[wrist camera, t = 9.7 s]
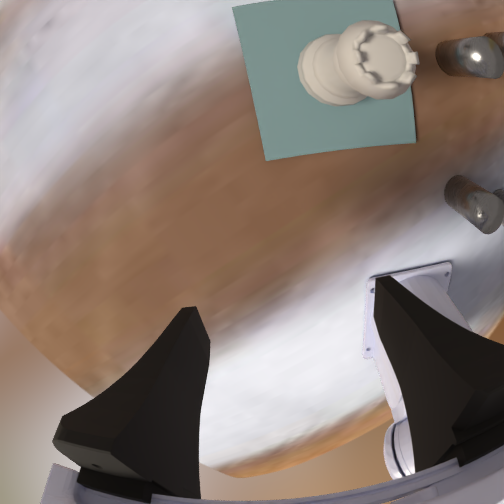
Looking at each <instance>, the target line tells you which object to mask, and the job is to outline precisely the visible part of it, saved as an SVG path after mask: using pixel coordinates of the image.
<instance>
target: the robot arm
mask: <svg viewBox="0 0 504 504" xmlns="http://www.w3.org/2000/svg"><path fill="white" fill-rule="evenodd" d="M446 272H447V273H446ZM451 272H452V265H451V264H450V263H449V262H445V263H441V264H436V265H432V266H427V267H422V268H418V269H413V270H408V271H403V272H399V273H394V274H389V275H384V276H379V277H373V278H370V279H369V280H368V281H367V283H366V304H365V324H364V339H363V352H362V355H363V358H364V359H370V358H374V361H375V364H376V367H377V370H378V373H379V376H380V379H381V383H382V386H383V389H384V392H385V395H386V399H387V402H388V404H389V406H390V408H391V409H392V410H391V411H392V415H393V418H394V423H393V424H391V425H390V426H389V428H388V429H387V432H386V434H385V440H384V459H385V463H386V466H387V469H388V471H389V473H390V475H391V477H392V479H393V480H391V481H388V482H384V483H380V484H376V485H372V486H368V487H363V488H359V489H355V490H349V491H344V492H339V493H333V494H327V495H320V496H312V497H305V498H296V499H282V500H266V501H219V500H202V499H201V494H200V481H199V426H200V413H201V406H202V400H203V395H204V389H205V384H206V379H207V373H208V368H209V360H210V339H209V337H208V334H207V332H206V330H205V327H204V325H203V322H202V320H201V317H200V315H199V312H198V310H197V307H196V306H194V307H185V308H182V309H181V310H180V311H179V312H178V314H177V315H176V316H175V317H174V319H173V320H172V321H171V322H170V324H169V325H168V326H167V328H166V329H165V330H164V331H163V333H162V334H161V335H160V336H159V338H158V339H157V340H156V341H155V343H154V344H153V345H152V346H151V347H150V348H149V349H148V351H147V352H146V353H145V354H144V355H143V356H142V357H141V359H140V360H139V361H138V362H137V363H136V364H135V365H134V366H133V367H132V368H131V369H130V370H129V371H128V372H127V373H125V374H124V375H123V376H122V377H121V378H120V379H119V380H117V381H116V382H115V383H114V384H112V385H111V386H110V387H109V388H108V389H106V390H105V391H104V392H102V393H101V394H99V395H98V396H97V397H95V398H94V399H92V400H90V401H89V402H87V403H86V404H84V405H82V406H81V407H79V408H77V409H75V410H74V411H71V412H70V413H68V414H66V415H64V416H62V418H61V421H60V423H59V426H58V428H57V430H56V433H55V435H54V438H53V441H52V442H53V444H54V446H55V447H56V449H57V450H58V451H60V452H61V453H62V454H63V455H65V456H67V457H68V458H69V459H70V460H72V461H73V462H75V463H76V464H77V465H79V466H81V469H80V472H77V471H75V470H73V469H70V468H67V467H64V466H61V465H59V464H55V463H54V464H53V465H52V468H51V471H50V474H49V477H48V480H47V483H46V486H45V490H44V493H43V496H42V499H41V503H40V504H381V503H385V502H389V501H392V500H396V499H399V498H401V499H399V500H396V501H394V502H391V504H504V345H503V344H500V343H497V342H494V341H492V340H489V339H487V338H484V337H482V336H480V335H478V334H476V333H474V332H473V331H472V329H471V328H470V326H469V325H468V323H467V322H466V320H465V319H464V317H463V316H462V314H461V313H460V311H459V310H458V309H457V307H456V306H455V304H454V303H453V301H452V300H451V299H450V297H449V296H448V294H447V292H448V287H449V282H450V277H451ZM445 273H446V274H445ZM372 288H374V289H373V290H371V289H372ZM402 497H404V498H402Z"/></svg>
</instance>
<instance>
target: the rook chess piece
mask: <svg viewBox="0 0 504 504" xmlns="http://www.w3.org/2000/svg"><path fill="white" fill-rule="evenodd" d="M410 40H411V39H410V38H408V37H407V36H406V35H405V34H404V33H403V32H402V31H401V30H400V31H397V30H396V29H394V28H393V27H391V26H389V25H387V24H384V23H382V22H380V21H372V20H362V21H359V22H357V23H354V24H352V25H350V26H348V27H347V28H346V30H345V31H344V32H343V33H342V34H327V35H323V36H321V37H319V38H317V39H315V40H313V41H311V42H309V43H308V44H307V45H306V47H305V48H304V49H303V50H302V52H301V53H300V57H299V61H298V66H297V68H298V73H299V78H300V82H301V83H302V85H303V86H304V88H305V89H306V91H307V92H308V94H310V95H311V96H313V97H314V98H315V99H317V100H318V101H319V102H321V103H324V104H328V105H331V106H335V107H336V106H347V105H354V104H356V103H358V102H359V101H361V100H363V99H365V98H366V97H367V96H369V97H372V98H374V99H377V100H380V99H393V98H395V97H397V96H399V95H401V94H403V93H405V92H406V91H407V89H408V88H409V87H410V85H411V84H412V83H413V81H414V80H415V78H416V77H417V75H415V71H416V65H418V64H420V63H419V57H418V52H413V51H412V49H411V47H410V45H409V44H408V41H410Z"/></svg>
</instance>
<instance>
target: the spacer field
mask: <svg viewBox="0 0 504 504" xmlns="http://www.w3.org/2000/svg"><path fill="white" fill-rule="evenodd" d="M436 60H437V62H438V65H439V66H440V68H441V69H442V70H443V71H444V72H445V73H446V74H448V75H450V76H466V77H482V78H494V79H496V78H499V77H500V76H501V75H502V74H503V72H504V32H494V33H486V34H485V35H484V36H482V37H472V38H464V39H456V40H450V41H443V42H441V43H439V44H438V46H437V48H436ZM444 196H445V200H446V203H447V204H448V205H449V206H450V207H451V208H453V209H454V210H455V211H457V212H458V213H459V214H461V215H462V216H463V217H464V218H466V219H467V220H468V221H469V222H471V223H472V224H473V225H474V226H475V227H477V228H478V229H479V230H480V231H481V232H483V233H484V234H491V233H493V232H495V231H496V230H497V229H498V228H499V226H500V225H501V224H502V225H503V226H504V190H501V189H498V190H496V191H495V192H494V193H493V194H492V193H491V192H489V191H487V190H486V189H484V188H482V187H481V186H479V185H477V184H476V183H474V182H472V181H470V180H469V179H467V178H465V177H463V176H460V175H457V176H454V177H453V178H451V179H450V180H449V182H448V183H447V185H446V187H445V192H444Z"/></svg>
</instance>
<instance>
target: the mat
mask: <svg viewBox="0 0 504 504" xmlns="http://www.w3.org/2000/svg"><path fill="white" fill-rule="evenodd" d="M232 9H233V13H234V18H235V22H236V26H237V30H238V34H239V38H240V43H241V47H242V51H243V56H244V60H245V64H246V69H247V73H248V78H249V82H250V87H251V91H252V96H253V101H254V105H255V110H256V115H257V119H258V124H259V129H260V134H261V139H262V144H263V149H264V154H265V159H266V161H269V160H275V159H281V158H287V157H293V156H299V155H306V154H313V153H320V152H327V151H335V150H343V149H352V148H361V147H370V146H381V145H393V144H406V143H416V134H415V121H414V111H413V101H412V93H411V86H410V87H409V88H408V89H407V91H406V92H405V93H403V94H401V95H399V96H397V97H395V98H393V99H380V100H377V99H374V98H372V97H369V96H367V97H366V98H365V99H363V100H361V101H359V102H358V103H356V104H354V105H347V106H336V107H335V106H331V105H328V104H324V103H321V102H319V101H318V100H317V99H315V98H314V97H313V96H311V95H310V94H308V92H307V91H306V89H305V88H304V86H303V85H302V83H301V82H300V78H299V73H298V68H297V66H298V61H299V57H300V53H301V52H302V50H303V49H304V48H305V47H306V45H307V44H308V43H309V42H311V41H313V40H315V39H317V38H319V37H321V36H323V35H327V34H342V33H343V32H344V31H345V30H346V28H347V27H348V26H350V25H352V24H354V23H357V22H359V21H362V20H372V21H380V22H382V23H384V24H387V25H389V26H391V27H393V28H394V29H396V30H397V31H400V27H399V23H398V19H397V15H396V11H395V7H394V4H393V0H274V1H266V2H259V3H253V4H247V5H241V6H236V7H232Z"/></svg>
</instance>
